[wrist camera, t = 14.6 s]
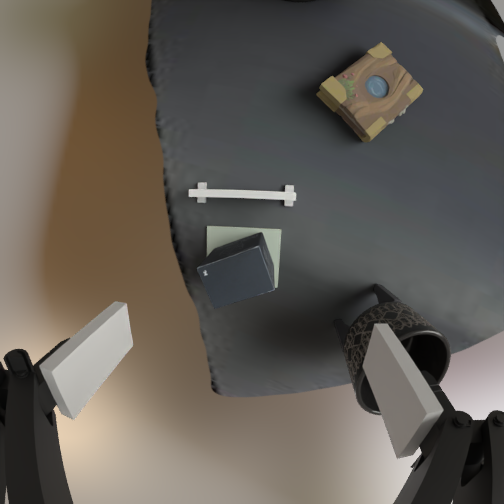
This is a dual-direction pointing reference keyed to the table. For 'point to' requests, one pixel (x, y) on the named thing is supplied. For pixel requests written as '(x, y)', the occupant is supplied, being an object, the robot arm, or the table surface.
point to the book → (370, 92)
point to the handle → (243, 194)
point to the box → (238, 271)
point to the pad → (229, 234)
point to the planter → (408, 333)
